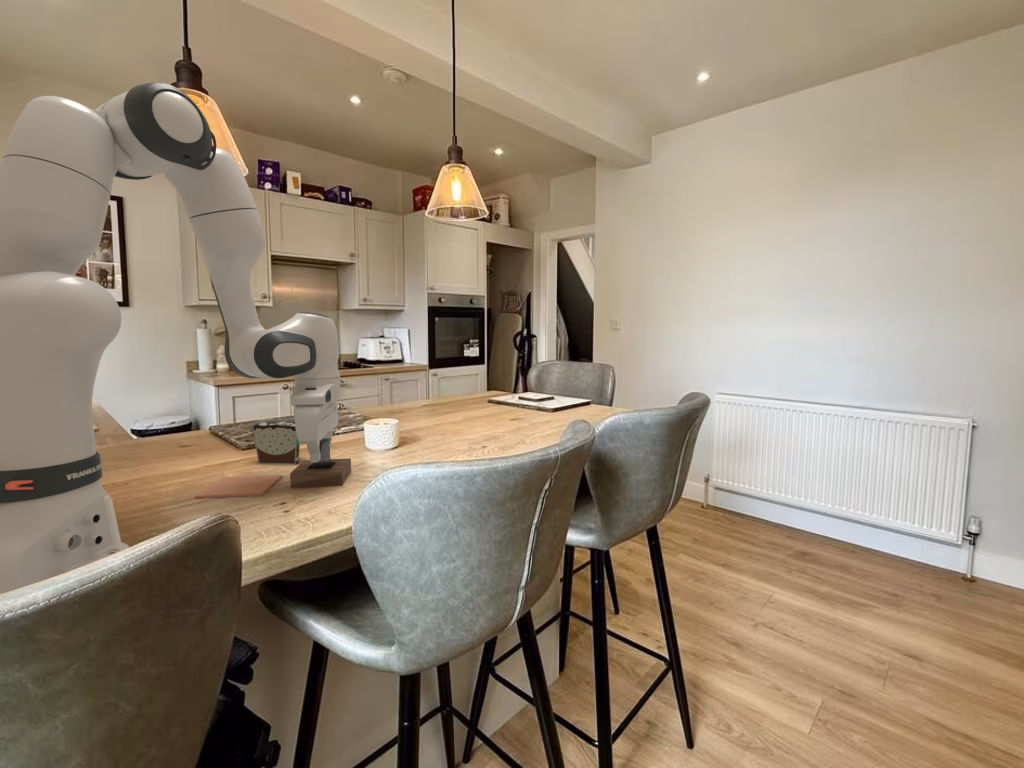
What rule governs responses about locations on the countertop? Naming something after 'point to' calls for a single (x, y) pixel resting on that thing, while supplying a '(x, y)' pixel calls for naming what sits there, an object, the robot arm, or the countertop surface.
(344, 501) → the countertop surface
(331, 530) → the countertop surface
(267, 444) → the food container
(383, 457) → the countertop surface
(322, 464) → the metal peg
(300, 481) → the brown square peg hole
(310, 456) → the robot arm
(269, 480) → the rubber mat
